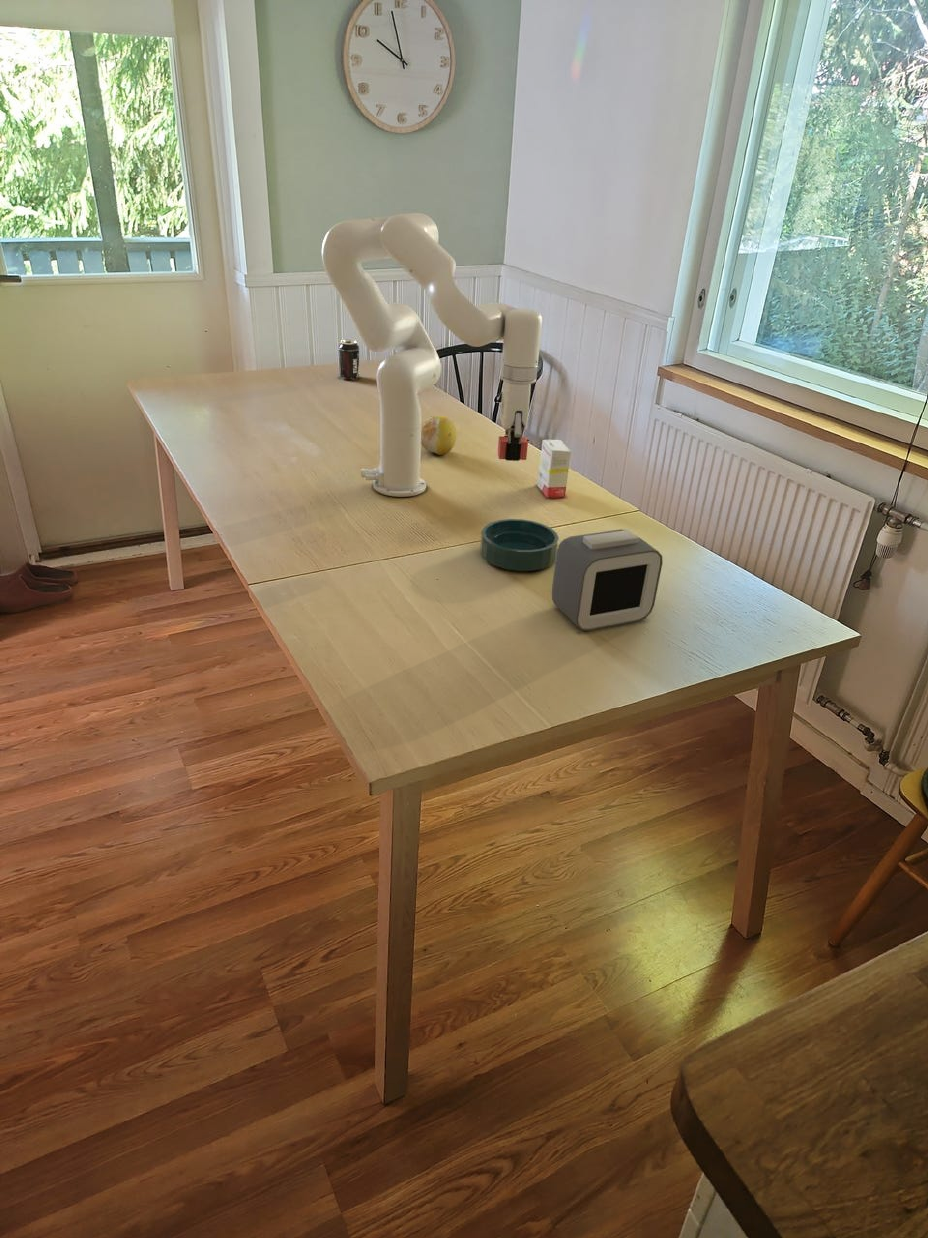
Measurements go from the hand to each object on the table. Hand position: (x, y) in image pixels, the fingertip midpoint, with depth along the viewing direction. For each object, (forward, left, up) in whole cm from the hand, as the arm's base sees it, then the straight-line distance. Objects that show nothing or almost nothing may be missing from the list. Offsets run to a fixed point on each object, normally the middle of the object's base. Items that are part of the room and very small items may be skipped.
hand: (511, 455), depth 184 cm
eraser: (0, 0, 0) cm, 0 cm away
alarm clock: (+12, -43, -14) cm, 47 cm away
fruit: (-14, +40, -14) cm, 45 cm away
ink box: (+13, +15, -14) cm, 25 cm away
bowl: (0, -21, -14) cm, 25 cm away
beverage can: (-40, +111, -14) cm, 119 cm away
